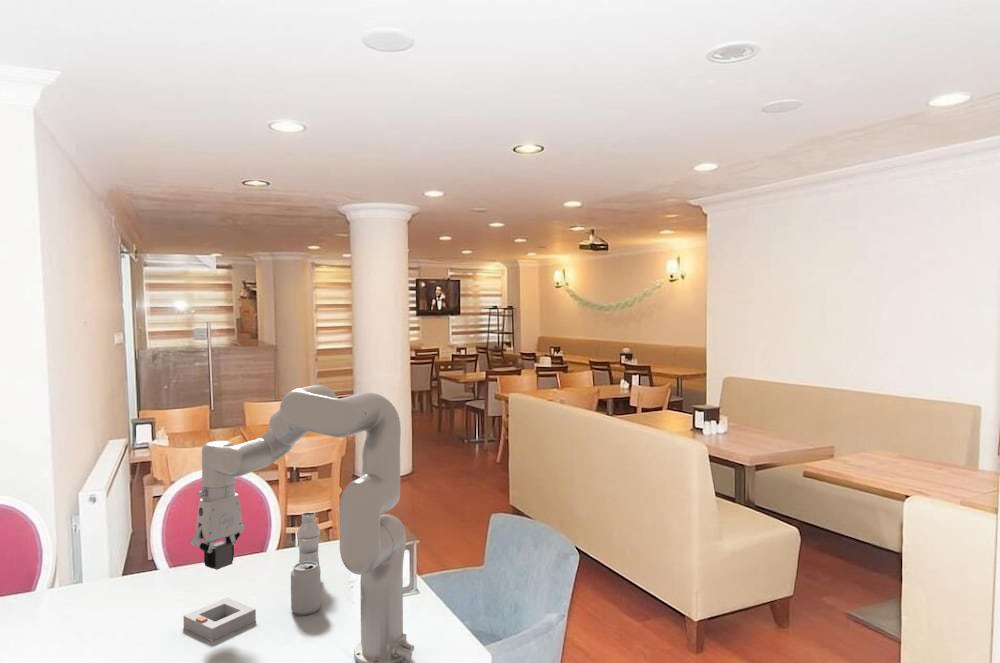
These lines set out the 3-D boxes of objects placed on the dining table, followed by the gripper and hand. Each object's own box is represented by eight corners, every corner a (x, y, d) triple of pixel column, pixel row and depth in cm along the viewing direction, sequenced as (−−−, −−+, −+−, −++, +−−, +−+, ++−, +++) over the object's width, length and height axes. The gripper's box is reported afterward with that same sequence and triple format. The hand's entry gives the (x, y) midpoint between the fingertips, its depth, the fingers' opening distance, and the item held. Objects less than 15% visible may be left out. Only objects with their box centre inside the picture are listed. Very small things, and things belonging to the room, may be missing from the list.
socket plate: (255, 620, 162) (255, 607, 162) (212, 641, 152) (211, 626, 152) (227, 608, 169) (227, 595, 169) (183, 627, 159) (183, 613, 159)
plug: (232, 563, 161) (232, 543, 160) (216, 569, 157) (216, 549, 157) (221, 560, 163) (221, 540, 163) (205, 565, 159) (205, 545, 159)
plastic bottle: (292, 585, 183) (291, 516, 182) (306, 576, 190) (305, 509, 189) (312, 588, 181) (311, 518, 181) (325, 578, 188) (324, 511, 187)
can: (312, 617, 164) (311, 571, 163) (285, 615, 165) (285, 569, 165) (325, 604, 171) (325, 560, 171) (300, 602, 173) (299, 558, 172)
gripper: (195, 502, 150) (196, 578, 151) (257, 486, 164) (257, 556, 165) (177, 497, 154) (178, 571, 155) (239, 481, 168) (239, 550, 169)
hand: (219, 562), depth 160 cm, fingers closed on plug, 4 cm apart
